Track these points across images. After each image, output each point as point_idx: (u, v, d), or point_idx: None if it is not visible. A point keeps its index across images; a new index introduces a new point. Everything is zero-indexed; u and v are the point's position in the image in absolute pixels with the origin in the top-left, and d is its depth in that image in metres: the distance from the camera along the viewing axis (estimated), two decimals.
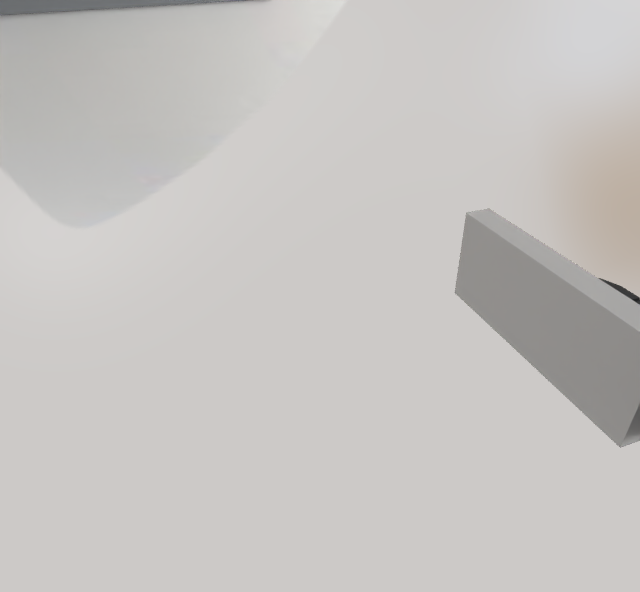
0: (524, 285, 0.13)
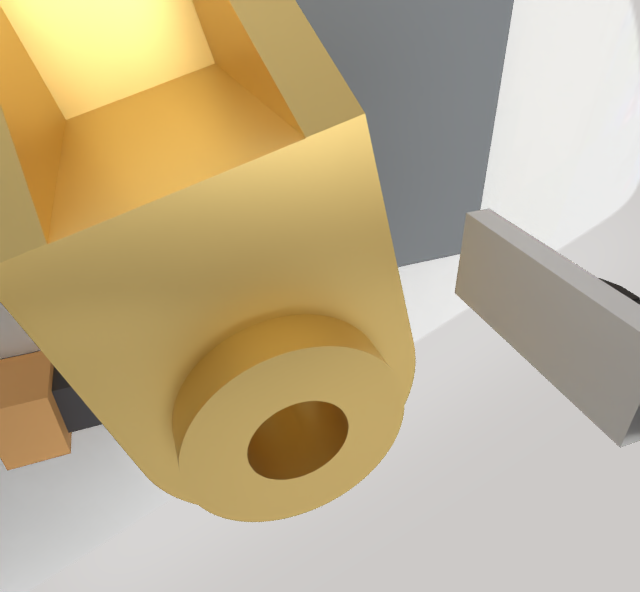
0: (524, 285, 0.13)
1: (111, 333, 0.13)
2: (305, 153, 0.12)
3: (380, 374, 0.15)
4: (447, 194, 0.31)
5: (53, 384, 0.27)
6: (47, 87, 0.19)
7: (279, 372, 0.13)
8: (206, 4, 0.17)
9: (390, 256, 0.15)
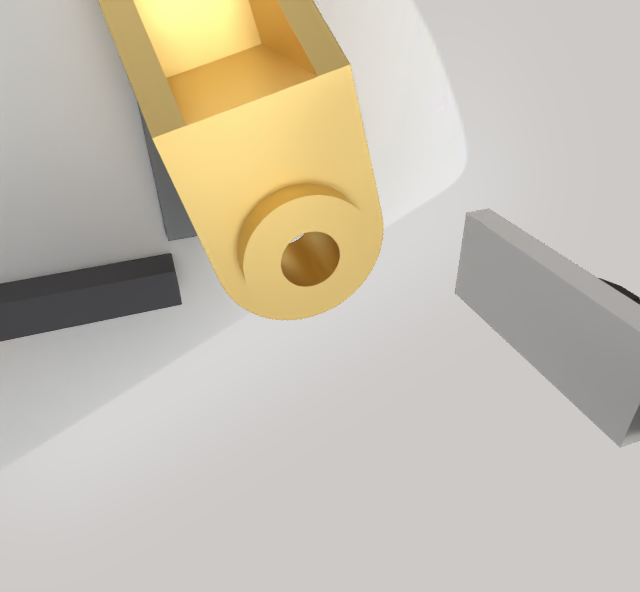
0: (524, 285, 0.13)
1: (210, 182, 0.24)
2: (318, 85, 0.23)
3: (358, 220, 0.26)
4: None
5: None
6: (157, 56, 0.30)
7: (300, 208, 0.24)
8: (261, 5, 0.28)
9: (366, 151, 0.25)
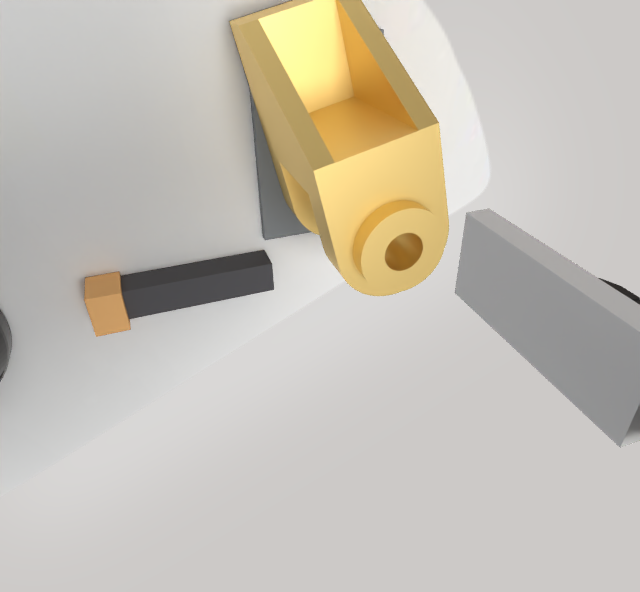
0: (524, 285, 0.13)
1: (343, 199, 0.36)
2: (418, 136, 0.35)
3: (437, 225, 0.37)
4: None
5: (122, 289, 0.47)
6: None
7: (402, 217, 0.36)
8: (364, 74, 0.40)
9: (442, 178, 0.37)
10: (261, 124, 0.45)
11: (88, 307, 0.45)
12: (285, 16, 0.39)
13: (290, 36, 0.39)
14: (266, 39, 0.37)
